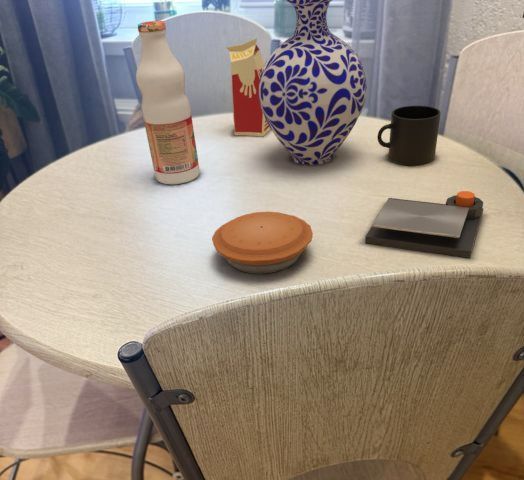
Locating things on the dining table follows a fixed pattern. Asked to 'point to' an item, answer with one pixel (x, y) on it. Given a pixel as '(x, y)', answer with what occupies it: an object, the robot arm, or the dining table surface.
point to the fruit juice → (165, 108)
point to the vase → (312, 87)
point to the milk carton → (247, 89)
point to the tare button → (465, 199)
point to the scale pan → (422, 218)
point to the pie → (262, 241)
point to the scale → (433, 242)
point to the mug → (412, 134)
